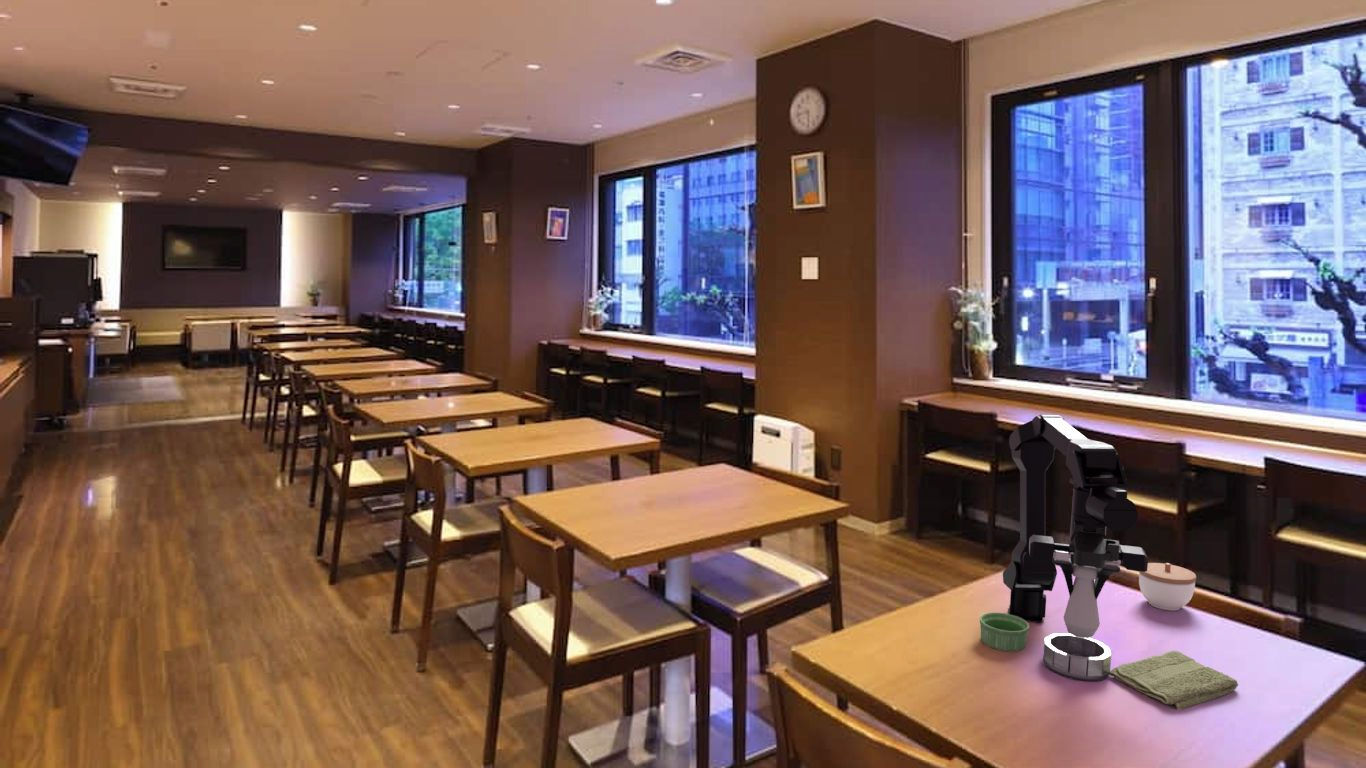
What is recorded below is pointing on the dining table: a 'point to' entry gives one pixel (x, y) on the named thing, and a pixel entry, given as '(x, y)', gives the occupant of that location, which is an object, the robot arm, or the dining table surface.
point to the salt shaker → (1082, 603)
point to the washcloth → (1175, 679)
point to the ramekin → (1003, 631)
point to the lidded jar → (1167, 585)
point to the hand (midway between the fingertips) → (1082, 598)
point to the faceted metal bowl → (1077, 657)
